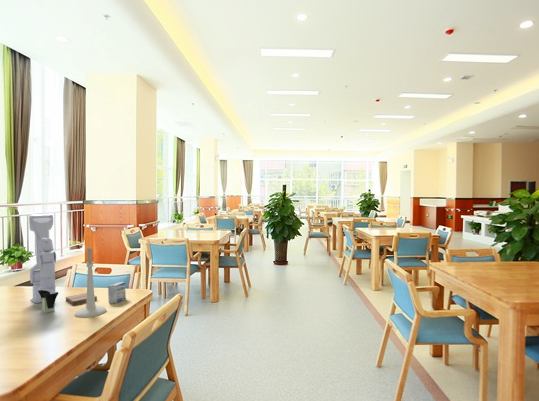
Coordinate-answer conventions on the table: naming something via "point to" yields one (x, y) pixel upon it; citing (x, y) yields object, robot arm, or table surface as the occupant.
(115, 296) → the medicine box
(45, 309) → the sage block
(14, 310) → the table surface
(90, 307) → the candlestick
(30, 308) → the table surface
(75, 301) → the walnut block
